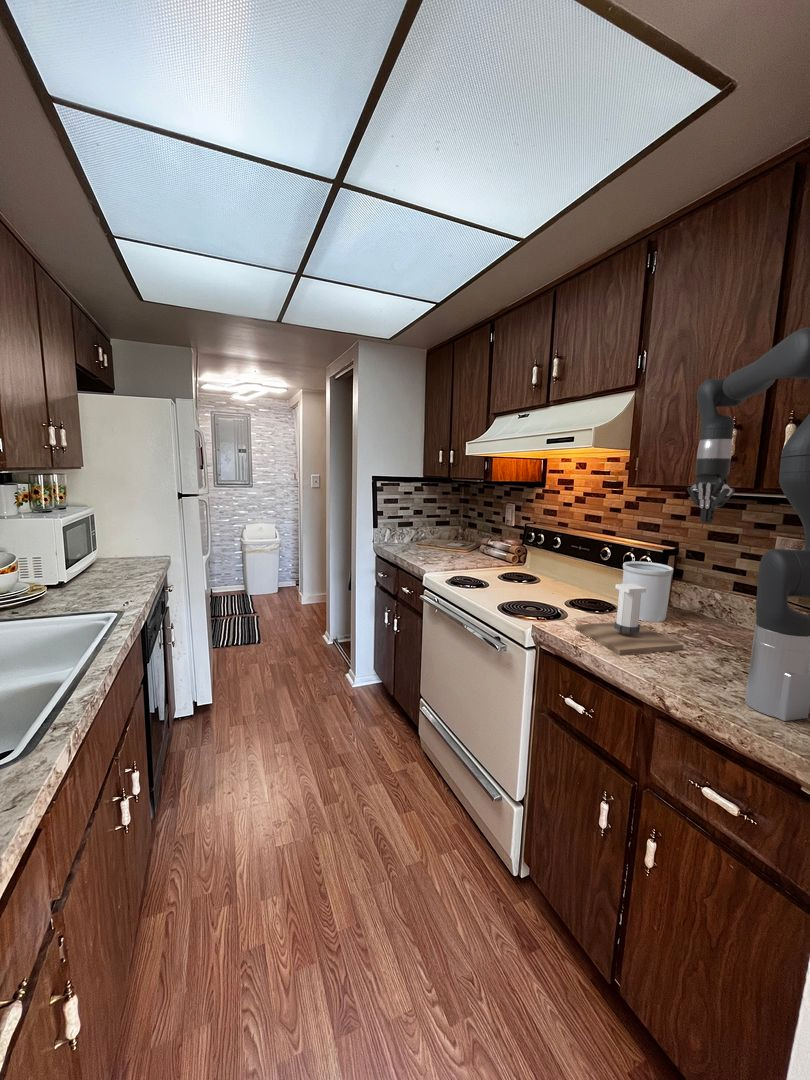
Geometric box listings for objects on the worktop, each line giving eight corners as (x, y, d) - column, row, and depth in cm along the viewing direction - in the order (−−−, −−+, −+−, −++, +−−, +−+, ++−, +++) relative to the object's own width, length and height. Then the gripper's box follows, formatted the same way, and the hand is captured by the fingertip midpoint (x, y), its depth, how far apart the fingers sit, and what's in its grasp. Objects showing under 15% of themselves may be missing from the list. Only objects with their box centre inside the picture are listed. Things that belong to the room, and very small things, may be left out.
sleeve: (642, 626, 127) (646, 588, 126) (625, 627, 126) (629, 589, 125) (628, 620, 133) (632, 583, 131) (612, 621, 132) (615, 584, 130)
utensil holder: (673, 625, 143) (679, 571, 141) (623, 620, 147) (627, 568, 144) (661, 611, 157) (666, 563, 155) (615, 607, 161) (619, 560, 159)
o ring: (644, 632, 127) (644, 626, 127) (624, 633, 126) (625, 628, 126) (628, 624, 134) (629, 619, 133) (609, 626, 132) (610, 620, 132)
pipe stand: (682, 649, 123) (688, 600, 121) (619, 655, 118) (623, 604, 116) (631, 625, 142) (635, 582, 140) (575, 629, 138) (578, 585, 136)
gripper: (749, 457, 112) (740, 525, 115) (703, 458, 125) (696, 519, 128) (724, 456, 111) (716, 525, 113) (681, 457, 123) (674, 520, 126)
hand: (706, 522), depth 121 cm, fingers closed
